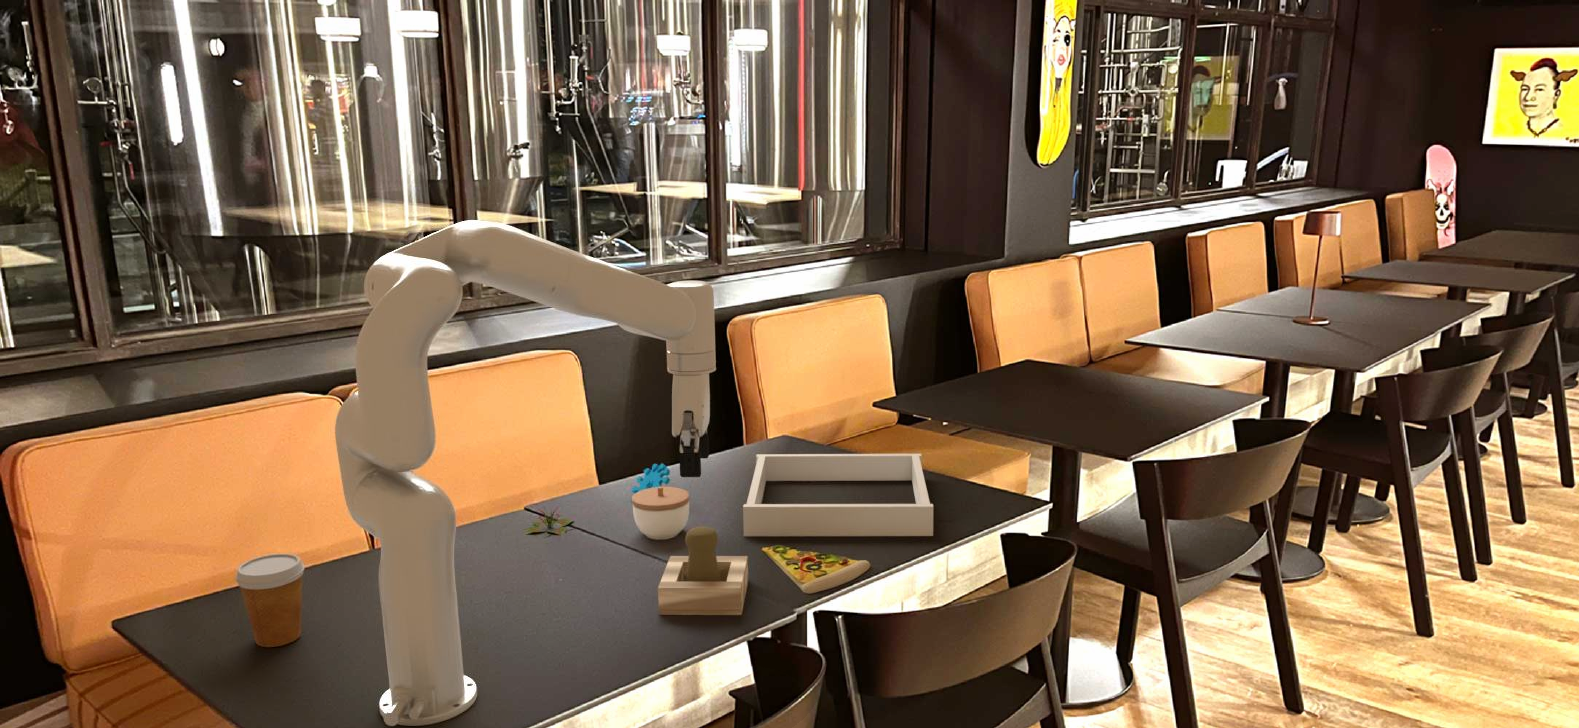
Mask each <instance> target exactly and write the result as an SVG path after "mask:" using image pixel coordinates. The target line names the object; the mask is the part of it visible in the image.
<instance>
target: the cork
mask: <svg viewBox="0 0 1579 728" xmlns="http://www.w3.org/2000/svg"><path fill="white" fill-rule="evenodd" d="M718 537H719V536H718V533H717V532H716V529H714V528H712V527H710V526H705V525H703V526H701V525H700V526H696V527H693V528H690V529H688V530H687V532H686V534H685V545H686V548H688V556H689V558H688V568H687V579H686V582H721V581H720V576H719V570H718V564H717V558H716V556H717V555H716V554H717V553H716V547H717V546H718V541H719V538H718Z"/></svg>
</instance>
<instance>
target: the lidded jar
mask: <svg viewBox="0 0 1579 728" xmlns="http://www.w3.org/2000/svg"><path fill="white" fill-rule="evenodd" d="M690 496H691V495H690V493H689V492H688V491H687V490H685V489H683V488H679V487H674V486H662V487H654V488H648V489H644V490H641V491H639V492H637V493H633V496H632V495H631V497H632V500H631V504H632V514H633V520H634V521H635V524H636V526H637V528H638V529H639V530H640V532H641V533H642V534H644V535H645V536H646V537H647V538H649V539H652V540H658V541H659V540H668V539H672V538H674V537H677V536H678V535H679V534H680V533H681V532H682V531H683V530H684V528H686V527H685V526H686V525H687V522H688V520H689V515H690Z"/></svg>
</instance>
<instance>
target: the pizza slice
mask: <svg viewBox="0 0 1579 728" xmlns="http://www.w3.org/2000/svg"><path fill="white" fill-rule="evenodd" d="M761 551H762V552H764V553H765V554H766V556H767V557H768V558H770V559H771V560H772V561H773V563H775V564H776V565H777V566H778V567H779V568H780V570H782V571H783V572H784V574H786V576H787V577H788V578H790V580H792V582H793V583H795V584H796V586H798V588H799V589H800V590H801V592H802V593H804V594H815V593H818V592H821V591H826V590H829V589H833V588H835V587H838V586H842V585H843V584H846V583H848V582H851V581H853V580H854V579H856V578H858V577H860V576H862V575H863V574H864V573H865V572H867V571H868V570H870V568H871V563H870V562H869V561H868V560H866V559H865V560H864V559H862V560H857V559H851V558H848V557H847V556H841V555H833V554H830V553H828V552H818V551H816V552H813V551H807V550H806V551H805V550H803V551H801V550H800V549H798V547H797V546H793V547H786V546H785V545H782V544H781V545H780V544H775V545H773V546H769V547H762V549H761Z"/></svg>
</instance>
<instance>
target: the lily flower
mask: <svg viewBox="0 0 1579 728" xmlns="http://www.w3.org/2000/svg"><path fill="white" fill-rule="evenodd" d="M552 508H553V506H551V509H552ZM559 508H560V506H557V507H556V508H555V509H554V511H553V510H550V513H549V514H550V515H549V514H548V512H547V510H546V508H545V507H543V509H544V511H545V512H544V511H543V510H541V509H540V508H539V509H538V508H537V511H539V512H541V513H542V514H543V515H544V517H545V518H544V517H543V516H541V515H539V516H538V519H539V520H540V521H541V522H539V521H535V520H534V521H533V524H534V525H535V526H531V527H528V528H526V529H525V531H524V534H531V533H535V536H536V538H539V535H538V534H536V533H540V532H541V533H543V532H544V533H545V530H539V529H540V527H541V526H542V525H543V524H545V526H546V527H547V528H549V529H550V528H552V527H553V526H554V524H561V525H560V527H559V528H558V529H557V530H546V532H549V533H554V534H556V535H559V536H561V535H562V534H563V535H566V532H567V528H566V527H565V526H567V525H569V524H570V523H572V522H574V521H572V519H570V518H566V517H565V518H560V519H558V518H559V517H561V514H559V513H556V514H555V512H556V511H557V510H558V509H559ZM554 515H555V516H554ZM530 525H531V523H529V524H528V526H530ZM572 526H574V527H577V525H576V524H572ZM570 530H572V528H571V529H568V531H570ZM552 535H553V534H548V535H546V536H545V538H546V537H549V536H552ZM542 539H544V537H543V538H542Z"/></svg>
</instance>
